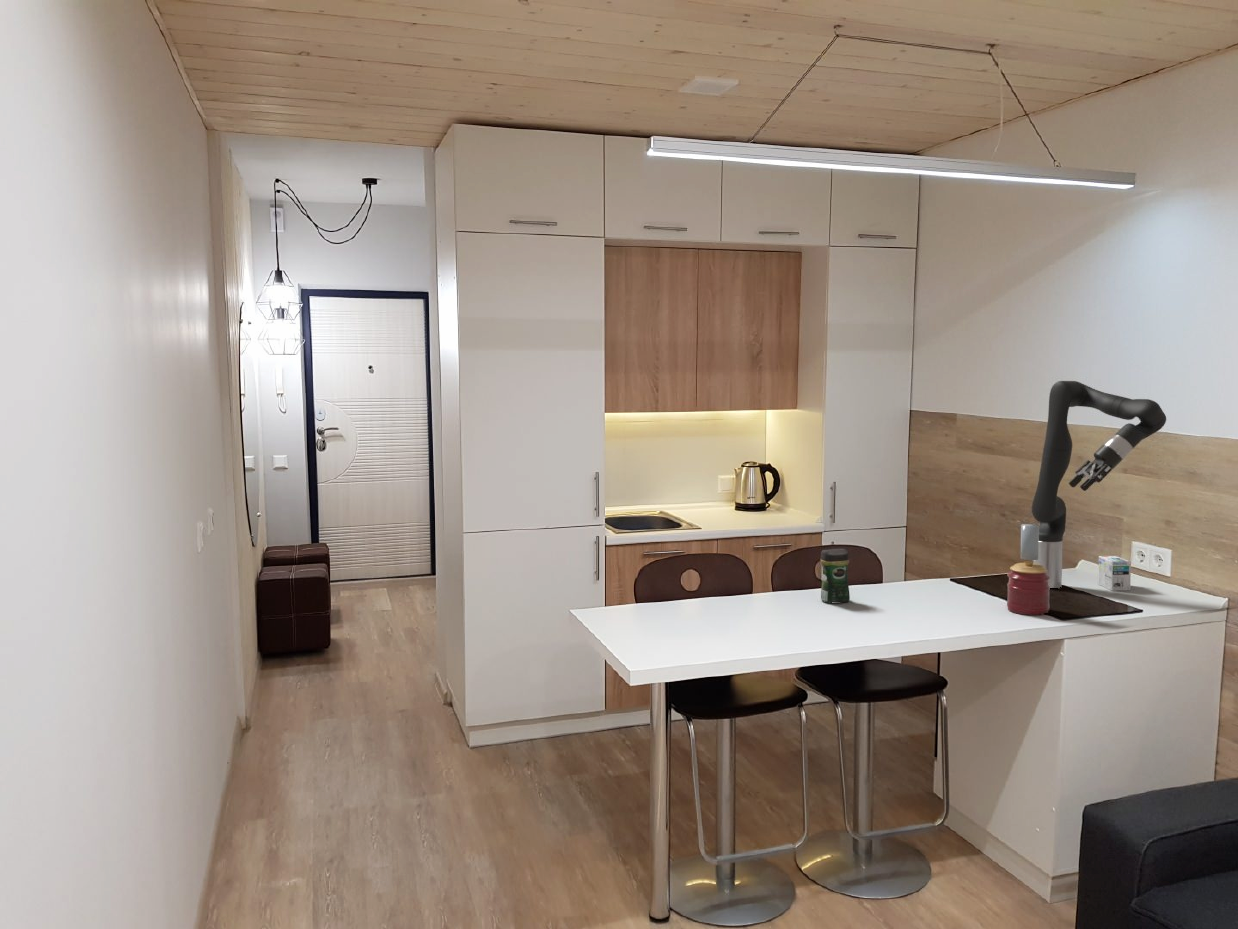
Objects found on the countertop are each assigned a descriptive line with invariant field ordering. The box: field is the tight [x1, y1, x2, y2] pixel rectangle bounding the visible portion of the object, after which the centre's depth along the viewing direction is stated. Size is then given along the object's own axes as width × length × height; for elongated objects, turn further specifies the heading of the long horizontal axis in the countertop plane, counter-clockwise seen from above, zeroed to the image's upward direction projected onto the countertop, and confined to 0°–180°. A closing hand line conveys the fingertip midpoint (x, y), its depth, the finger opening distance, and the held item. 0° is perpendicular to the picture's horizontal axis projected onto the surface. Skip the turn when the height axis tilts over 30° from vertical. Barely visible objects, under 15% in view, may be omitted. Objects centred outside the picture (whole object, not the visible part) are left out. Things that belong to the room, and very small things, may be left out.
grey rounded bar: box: [1020, 523, 1040, 561], centre depth 306 cm, size 5×5×11 cm
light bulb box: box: [1097, 555, 1132, 592], centre depth 336 cm, size 11×7×11 cm, turn 179°
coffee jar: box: [820, 548, 851, 604], centre depth 326 cm, size 10×8×19 cm
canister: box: [1006, 559, 1051, 616], centre depth 307 cm, size 13×13×18 cm
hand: (1076, 487), depth 305 cm, fingers open, 8 cm apart
